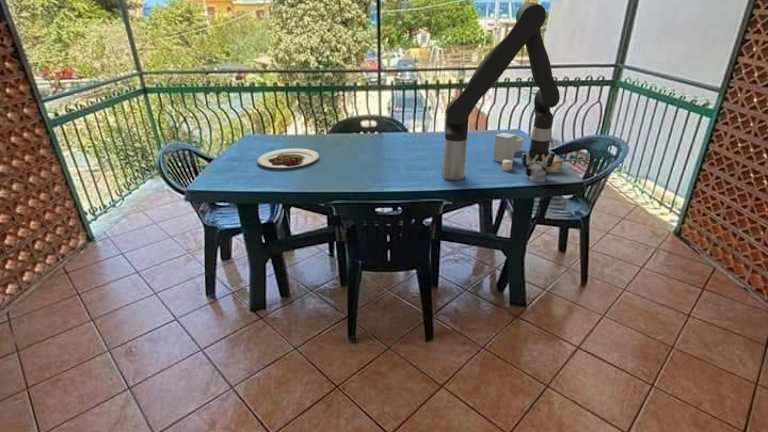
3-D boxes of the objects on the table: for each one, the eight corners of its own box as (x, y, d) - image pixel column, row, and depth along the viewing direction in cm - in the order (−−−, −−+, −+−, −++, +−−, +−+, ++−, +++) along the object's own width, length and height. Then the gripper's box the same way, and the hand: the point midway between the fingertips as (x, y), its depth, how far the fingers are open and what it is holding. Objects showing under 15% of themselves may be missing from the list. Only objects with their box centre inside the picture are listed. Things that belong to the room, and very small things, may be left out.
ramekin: (518, 147, 219) (520, 134, 216) (524, 155, 207) (525, 141, 204) (493, 147, 220) (495, 134, 217) (497, 154, 209) (498, 141, 206)
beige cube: (503, 171, 187) (504, 162, 185) (500, 168, 191) (501, 159, 189) (512, 171, 187) (514, 162, 185) (510, 167, 191) (511, 159, 189)
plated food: (287, 149, 224) (286, 143, 222) (331, 157, 210) (330, 150, 209) (244, 164, 201) (243, 158, 200) (290, 175, 187) (290, 168, 186)
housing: (544, 181, 174) (545, 171, 172) (531, 181, 175) (533, 171, 173) (537, 173, 183) (538, 163, 181) (525, 173, 184) (526, 163, 182)
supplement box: (513, 160, 200) (517, 134, 195) (505, 163, 196) (509, 137, 190) (500, 156, 205) (503, 132, 199) (492, 160, 200) (495, 135, 195)
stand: (534, 172, 184) (535, 161, 182) (526, 165, 193) (528, 155, 191) (560, 172, 184) (562, 161, 182) (552, 164, 193) (553, 154, 191)
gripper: (526, 140, 168) (521, 179, 175) (561, 139, 168) (554, 178, 175) (520, 135, 174) (515, 173, 182) (554, 135, 174) (548, 172, 182)
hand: (535, 175), depth 178 cm, fingers closed on housing, 5 cm apart
